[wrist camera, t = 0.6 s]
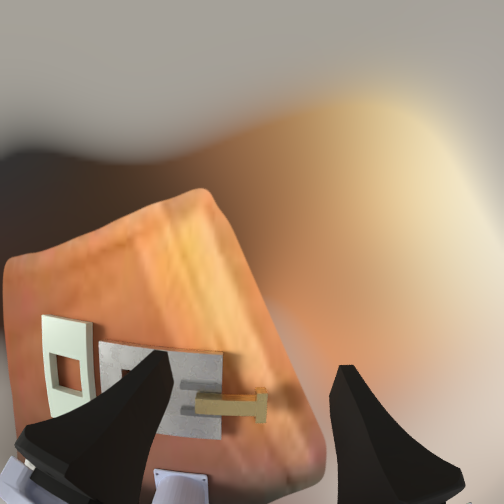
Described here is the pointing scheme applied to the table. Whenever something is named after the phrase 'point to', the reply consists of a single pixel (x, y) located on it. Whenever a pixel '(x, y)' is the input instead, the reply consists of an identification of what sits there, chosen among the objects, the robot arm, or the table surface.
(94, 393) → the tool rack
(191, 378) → the socket block
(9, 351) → the table surface
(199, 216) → the table surface
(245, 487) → the table surface
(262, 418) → the release key
